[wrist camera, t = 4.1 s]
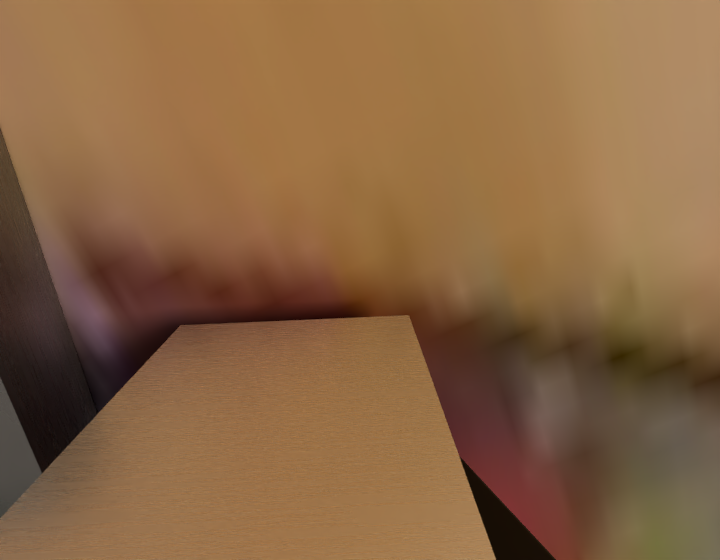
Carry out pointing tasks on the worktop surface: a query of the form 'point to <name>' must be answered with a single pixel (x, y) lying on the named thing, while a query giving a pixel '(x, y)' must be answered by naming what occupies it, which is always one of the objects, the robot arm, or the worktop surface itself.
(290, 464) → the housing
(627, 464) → the worktop surface
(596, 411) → the worktop surface
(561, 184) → the worktop surface
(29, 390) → the press
